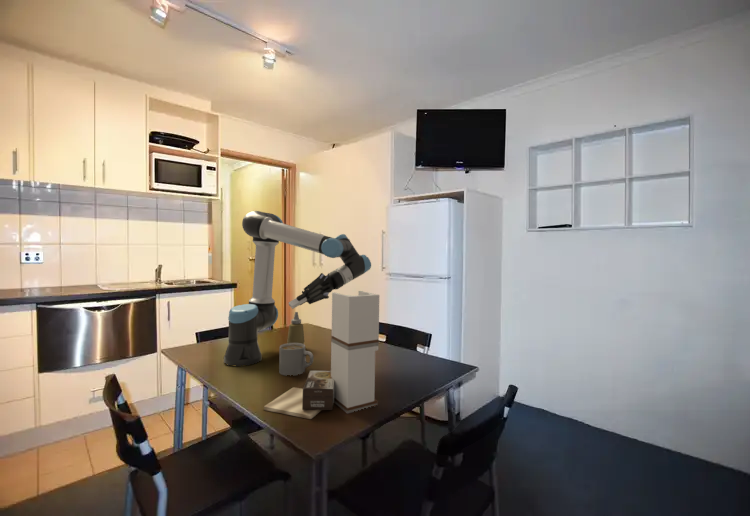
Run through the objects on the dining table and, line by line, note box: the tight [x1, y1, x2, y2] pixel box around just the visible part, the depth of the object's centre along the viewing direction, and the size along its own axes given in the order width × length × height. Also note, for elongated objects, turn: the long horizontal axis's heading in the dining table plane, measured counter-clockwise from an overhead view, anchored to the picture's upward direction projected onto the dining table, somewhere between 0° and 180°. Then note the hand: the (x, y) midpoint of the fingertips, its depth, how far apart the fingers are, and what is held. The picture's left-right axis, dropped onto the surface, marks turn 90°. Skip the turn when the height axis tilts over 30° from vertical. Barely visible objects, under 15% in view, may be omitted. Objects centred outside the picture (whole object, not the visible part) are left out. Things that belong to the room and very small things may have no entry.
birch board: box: [263, 387, 322, 420], centre depth 110 cm, size 16×16×1 cm
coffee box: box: [302, 370, 335, 411], centre depth 111 cm, size 9×6×16 cm
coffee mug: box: [278, 343, 314, 377], centre depth 138 cm, size 13×10×10 cm
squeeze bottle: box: [286, 311, 305, 345], centre depth 169 cm, size 8×8×18 cm
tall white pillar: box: [330, 290, 380, 414], centre depth 111 cm, size 11×11×35 cm
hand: (290, 305), depth 135 cm, fingers closed
